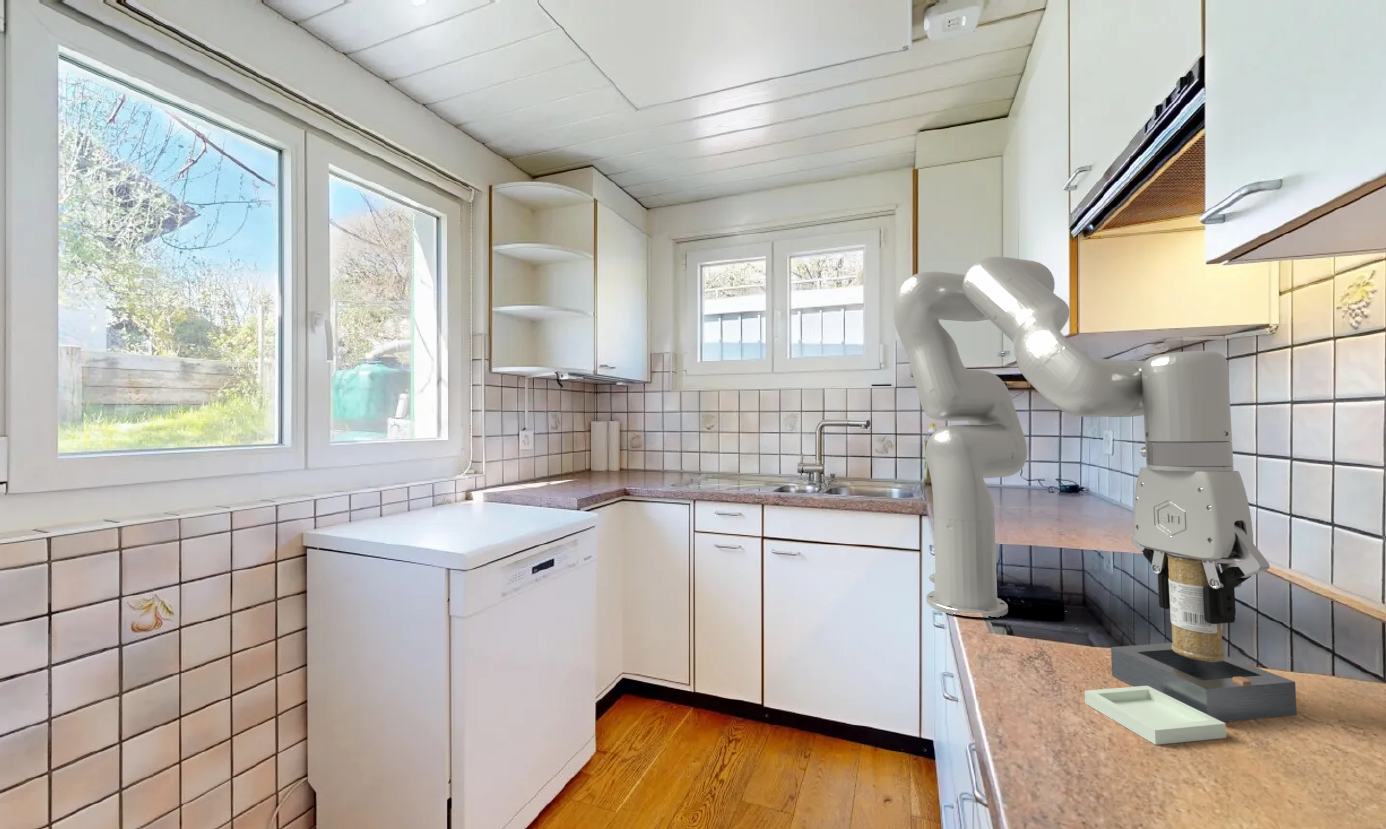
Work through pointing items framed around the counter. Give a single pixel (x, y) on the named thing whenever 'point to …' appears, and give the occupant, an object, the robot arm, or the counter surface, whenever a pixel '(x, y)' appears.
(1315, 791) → the counter surface
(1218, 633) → the spice jar
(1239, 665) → the block
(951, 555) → the robot arm
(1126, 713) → the tray
